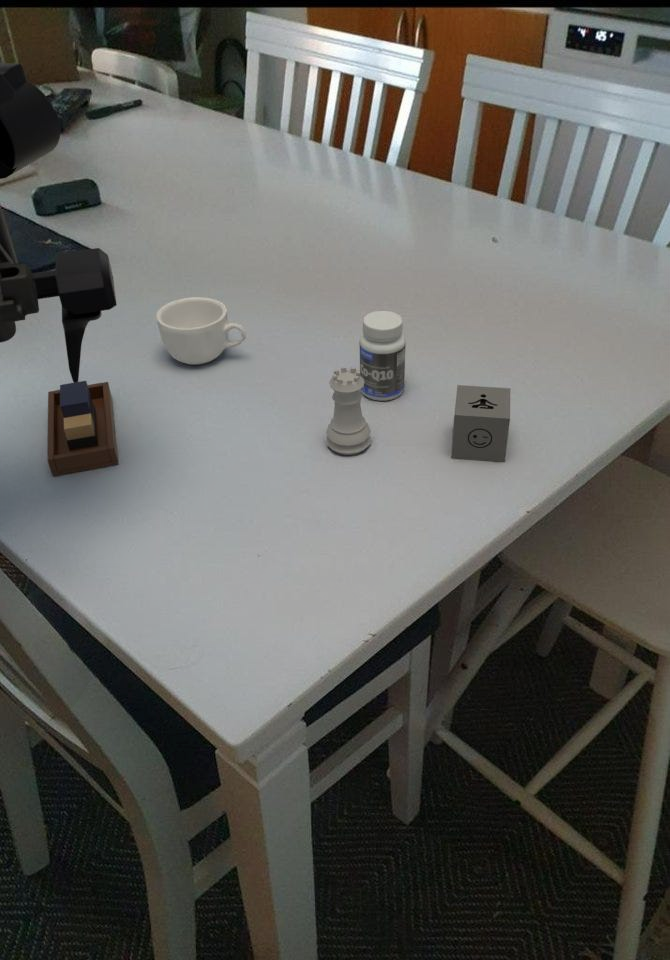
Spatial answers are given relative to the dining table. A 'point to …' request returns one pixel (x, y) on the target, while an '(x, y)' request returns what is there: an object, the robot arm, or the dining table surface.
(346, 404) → the rook chess piece
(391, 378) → the pill bottle
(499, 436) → the dice cube
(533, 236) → the dining table surface
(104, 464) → the tray
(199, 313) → the teacup
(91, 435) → the stacked boxes
